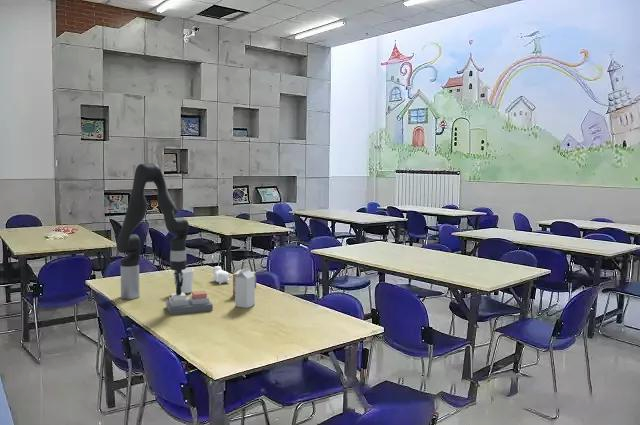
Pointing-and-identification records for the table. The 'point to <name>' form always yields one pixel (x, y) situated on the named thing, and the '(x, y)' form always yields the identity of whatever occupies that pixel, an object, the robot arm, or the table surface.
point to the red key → (199, 295)
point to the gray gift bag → (234, 280)
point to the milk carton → (245, 289)
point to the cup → (187, 281)
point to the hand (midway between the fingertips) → (178, 294)
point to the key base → (189, 306)
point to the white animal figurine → (220, 275)
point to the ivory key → (178, 297)
